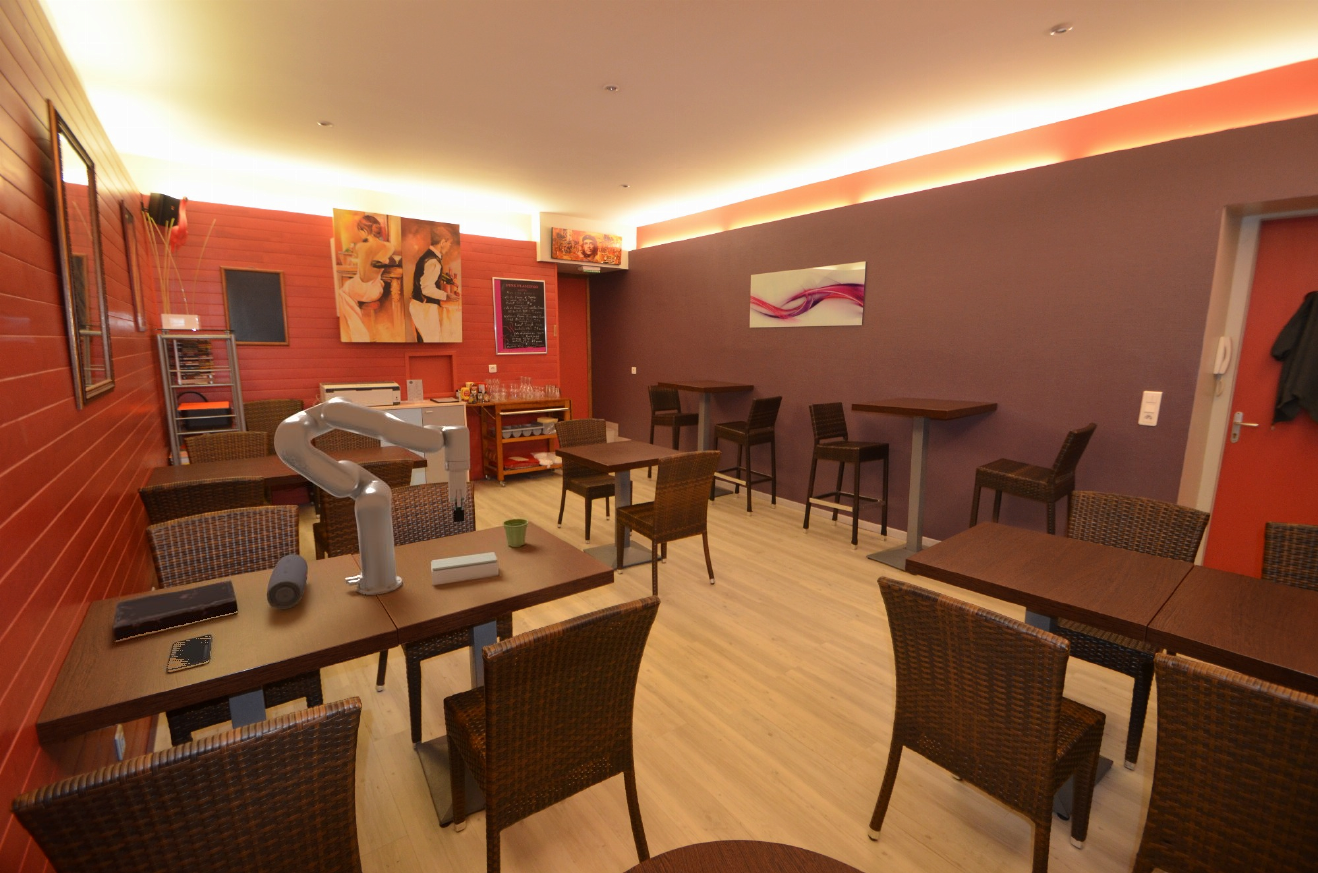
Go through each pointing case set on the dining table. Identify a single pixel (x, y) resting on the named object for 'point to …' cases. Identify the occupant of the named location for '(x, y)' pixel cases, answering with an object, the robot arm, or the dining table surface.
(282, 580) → the bluetooth speaker
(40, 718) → the dining table surface
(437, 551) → the dining table surface
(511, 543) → the plant pot
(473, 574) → the white hinged box
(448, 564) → the cover
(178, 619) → the diary
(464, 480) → the robot arm
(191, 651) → the phone
